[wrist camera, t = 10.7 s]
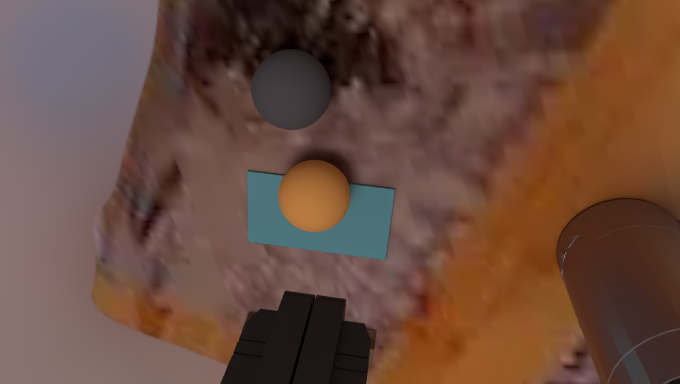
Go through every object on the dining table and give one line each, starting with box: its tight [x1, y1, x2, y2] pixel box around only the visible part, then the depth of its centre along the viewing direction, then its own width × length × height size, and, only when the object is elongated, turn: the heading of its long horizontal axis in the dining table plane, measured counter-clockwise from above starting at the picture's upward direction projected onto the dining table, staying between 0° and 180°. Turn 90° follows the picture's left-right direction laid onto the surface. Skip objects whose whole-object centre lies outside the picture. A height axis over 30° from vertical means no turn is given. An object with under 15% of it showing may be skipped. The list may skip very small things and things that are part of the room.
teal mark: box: [247, 170, 395, 260], centre depth 46 cm, size 12×7×1 cm, turn 86°
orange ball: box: [278, 160, 350, 232], centre depth 42 cm, size 6×6×6 cm
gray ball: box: [251, 49, 331, 130], centre depth 39 cm, size 6×6×6 cm
